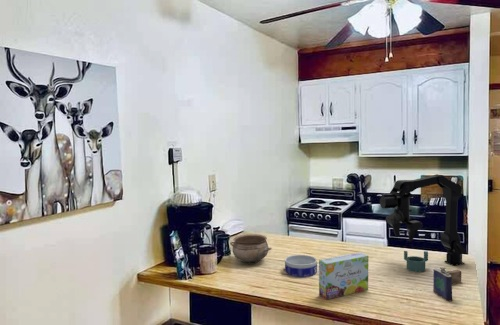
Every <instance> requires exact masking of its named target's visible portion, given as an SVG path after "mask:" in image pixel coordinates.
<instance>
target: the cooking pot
mask: <svg viewBox="0 0 500 325" xmlns="http://www.w3.org/2000/svg"><path fill="white" fill-rule="evenodd" d="M267 239H268V237H267V236H265V235H262V234H257V233H250V234H249V233H248V234H240V235H237V236H235V237H233V239H232V240H233V241H230V243H229V245H230V246H231V247H232V248H231V249H232V255H234V257H235V258H236V259H238V260H239V261H241V262H242V263H243V262H244V263H245V264H248V265H249V264H256V263H258V262H259V261H261V260H263V259H264V258H265V257H267V255H268V253H269V251H271V250H272V249H273V248H272V247H269V244H268V242H267Z"/></svg>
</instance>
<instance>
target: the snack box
mask: <svg viewBox="0 0 500 325" xmlns="http://www.w3.org/2000/svg"><path fill="white" fill-rule="evenodd" d="M366 291H369V255H367V254H364V253H363V252H356V253H349V254H344V255H339V256H333V257H328V258H323V259H319V260H318V295H319V296H320V297H321V298H323V299H324V300H331V299H335V298H339V297H344V296H348V295H353V294H356V293H361V292H366Z"/></svg>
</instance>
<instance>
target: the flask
mask: <svg viewBox="0 0 500 325" xmlns="http://www.w3.org/2000/svg"><path fill="white" fill-rule="evenodd" d="M446 269H447V267H439V268H433V278H432V280H433V286H432V290H433V291H432V292H433V293H434V294H435V295H436V294H437V296H438V297H441V298H442V299H444V300H445V301H447V302H452V301H453V284H452V276H451V275H450V274H449V273H447V271H448V270H446Z"/></svg>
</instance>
